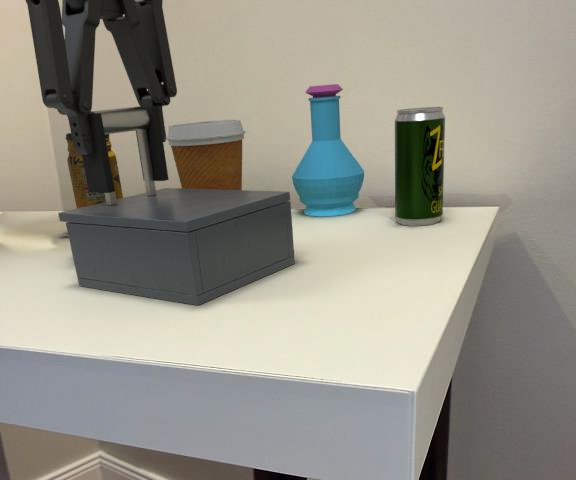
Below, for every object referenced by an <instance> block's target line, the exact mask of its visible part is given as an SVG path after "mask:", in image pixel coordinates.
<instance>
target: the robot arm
mask: <svg viewBox="0 0 576 480" xmlns="http://www.w3.org/2000/svg"><path fill="white" fill-rule="evenodd" d="M59 1H60V0H25V3H26V5H27V10H28V18H29V23H30V31H31V36H32V44H33V49H34V54H35V61H36V67H37V74H38V80H39V86H40V87H39V88H40V93H41V100H42V103H43V106H45V107H46V108H49V109H55V110H57V112H58V113H59V115H62V116H66V117H67V120H68V126H69V129H70V133H71V135H72V140H73V145H74V149H75V151H76V153H77V154H82V159H83V165H84V170H85V175H86V180H87V185H88V190H89V192H96V193H111V192H115V188H114V183H113V177H112V172H111V166H110V160H109V155H108V149H107V144H106V138H105V133H104V127H103V121H102V116H101V113H95V114H90V112H91V111H93V92H94V74H95V72H94V71H95V51H96V31H97V29H98V27H99V25H100V24H101V20H102V23H103V25H104V27H105V29H106V30H107V31H108V32H109V33H110V34H111V35H112V38H113V41H114V44H115V46H116V49H117V52H118V55H119V57H120V59H121V62H122V65H123V67H124V70H125V73H126V76H127V77H128V80H129V83H130V85H131V88H132V91H133V93H134V96H135V98H136V101H137V104H138V105H139V106H143V107H145V108H146V109H147V110H148V111H149V113H150V116H151V123H150V126H149V127H148V128H147V129H146V130H147V137H148V143H149V150H150V156H151V163H152V169H153V176H154V182H165V181H169V179H170V178H169V172H168V166H167V160H166V152H165V151H166V150H165V145H164V143H166V142H167V140H166V137H167V132H166V126H165V118H164V111H163V107H166V106H169V105H170V104H171V98H175V97H176V96H177V93H178V89H177V82H176V77H175V71H174V66H173V60H172V54H171V48H170V43H169V37H168V31H167V25H166V20H165V14H164V8H163V3H164V2H163V1H164V0H62V4H61V5H62V6H60V2H59ZM135 136H136V142H137V148H138V154H139V161H140V165H141V166H140V167H141V173H142V179H143V181H144V174H143V168H142V162H141V156H140V149H139V143H138V137H137V131H135Z"/></svg>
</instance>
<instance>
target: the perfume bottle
mask: <svg viewBox="0 0 576 480" xmlns="http://www.w3.org/2000/svg"><path fill="white" fill-rule="evenodd" d="M342 91H344V88H342V86H341V85H340V84H338V83H335V84H322V85H321V84H320V85H312V86H308V88H307V89H306V90H305V92H304V93H305V94H307V95H309V96H311V97H308V98H307V100H308V102H309V107H310V109H309V110H310V124H311V125H310V126H311V142H310V144H309V146H308V148H306V149H307V150H306V151H305V152H304V154H303V157H302V159H301V160H300V161H299V163H298V165H297V167H296V168H295V170H294V172H293V173H292V176H291V179H292V184H293V187H294V190H295V192H296V194H297V196H298V197H299V202H300V203H301V204H302V205H304V206H305V208H304V212H303V213H304V215H306V216H309V217H336V216H337V217H338V216H344V215H348V214H351V213H354V212H356V206H355V205H354V202H356V201H357V199H359V195H360V191H361V189H362V187H363V183H364V179H365V170H364V168H363V167H362V165H361V164H360V163H359V162H358V160H357V158H355V156H354V155H353V154H352V153H351V151H350V150H349V148H348V147H347V146H346V144H345V143H344V141H343V140H342V137H341V115H340V114H341V113H340V111H341V110H340V99H341V95H337V94H339V93H341V92H342Z"/></svg>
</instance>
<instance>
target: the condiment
mask: <svg viewBox="0 0 576 480" xmlns="http://www.w3.org/2000/svg"><path fill="white" fill-rule="evenodd" d="M105 138H106V144H107V149H108V155H109V160H110V166H111V172H112V177H113V183H114V188H115V194H116V199H120V198H124V194H123V188H122V183H121V177H120V171H119V166H118V159H117V156H116V153H115V152H114V151H113V149H112V145H113V144H112V141H111V140H110V139H111V138H110V134H106V135H105ZM65 140H66V143H67V149H66V150H67V152H68V156H67V160H66V162H67V166H68V167H67V168H68V171H69V177H70V182H71V187H72V192H73V197H74V202H75V206H76V209H77V208H81V207H86V206H90V205H94V204H99V203H103V202H106V198H105V193H96V192H89V190H88V185H87V180H86V175H85V170H84V165H83V159H82V154H77V153H76V151H75V149H74V145H73V140H72V135H71V132H67V133H66V134H65ZM59 236H61V237H62V236H63V237H64V236H65V237H69V236H68V232H63V233H61V234H59Z"/></svg>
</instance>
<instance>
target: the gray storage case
mask: <svg viewBox="0 0 576 480" xmlns="http://www.w3.org/2000/svg"><path fill="white" fill-rule="evenodd" d="M292 216H293V215H292V204H291V200H290V201H287V202H284V203H280V204H277V205H274V206H271V207H267V208H264V209H261V210H258V211H255V212H251V213H248V214H245V215H242V216H238V217H235V218H232V219H229V220H225V221H222V222H219V223H216V224H212V225H209V226H206V227H203V228H199V229H196V230H193V231H190V232H181V231H169V230H157V229H145V228H132V227H120V226H108V225H96V224H84V223H71V222H65V227H66V231H67V232H68V236H67V237H68V240H69V245H70V250H71V254H72V259H73V263H74V268H75V273H76V277H77V282H78V286H79V287H83V288H89V289H96V290H101V291H107V292H113V293H121V294H126V295H132V296H133V295H134V296H139V297H145V298H151V299H157V300H164V301H169V302H175V303H182V304H189V305H194V306H200V305H202V304H205V303H207V302H210V301H212V300H214V299H216V298H218V297H221V296H223V295H226V294H227V293H230V292H233V291H235V290H237V289H239V288H241V287H244V286H246V285H248V284H251V283H253V282H255V281H258V280H260V279H263V278H265V277H267V276H270V275H272V274H274V273H277V272H279V271H281V270H283V269H285V268H288V267H290V266H293V265H294V264H296V262H295V261H296V260H295V245H294V232H293V230H294V229H293V217H292ZM67 232H66V233H67Z"/></svg>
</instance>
